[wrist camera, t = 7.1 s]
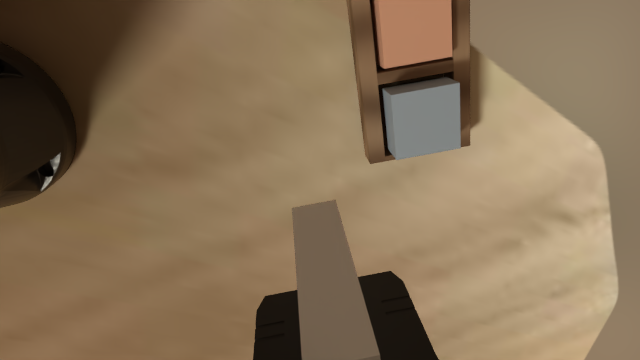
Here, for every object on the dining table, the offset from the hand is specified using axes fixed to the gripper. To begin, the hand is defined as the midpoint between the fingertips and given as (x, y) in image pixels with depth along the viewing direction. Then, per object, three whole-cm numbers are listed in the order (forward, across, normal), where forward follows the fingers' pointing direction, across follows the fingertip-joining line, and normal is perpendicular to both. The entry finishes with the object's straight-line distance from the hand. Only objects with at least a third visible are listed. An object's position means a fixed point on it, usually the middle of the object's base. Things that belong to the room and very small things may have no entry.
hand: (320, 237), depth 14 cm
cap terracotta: (+26, +11, +4) cm, 28 cm away
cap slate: (+24, +11, -4) cm, 27 cm away
